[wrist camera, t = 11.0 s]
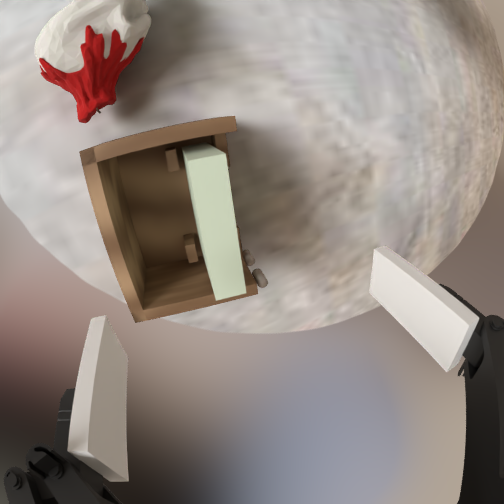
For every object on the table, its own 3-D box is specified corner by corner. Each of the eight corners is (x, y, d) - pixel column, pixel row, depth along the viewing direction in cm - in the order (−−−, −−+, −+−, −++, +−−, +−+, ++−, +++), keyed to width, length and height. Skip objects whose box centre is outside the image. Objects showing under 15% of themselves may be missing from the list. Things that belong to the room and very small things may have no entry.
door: (221, 239, 33) (246, 293, 23) (200, 244, 32) (216, 300, 23) (205, 142, 27) (225, 153, 18) (181, 147, 27) (187, 160, 17)
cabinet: (104, 142, 25) (79, 151, 17) (227, 115, 28) (250, 113, 20) (140, 275, 33) (135, 322, 25) (246, 250, 35) (270, 290, 27)
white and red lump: (149, -19, 18) (160, 101, 26) (51, 11, 16) (64, 128, 24) (147, -52, 11) (159, 105, 19) (18, -7, 8) (32, 145, 17)
